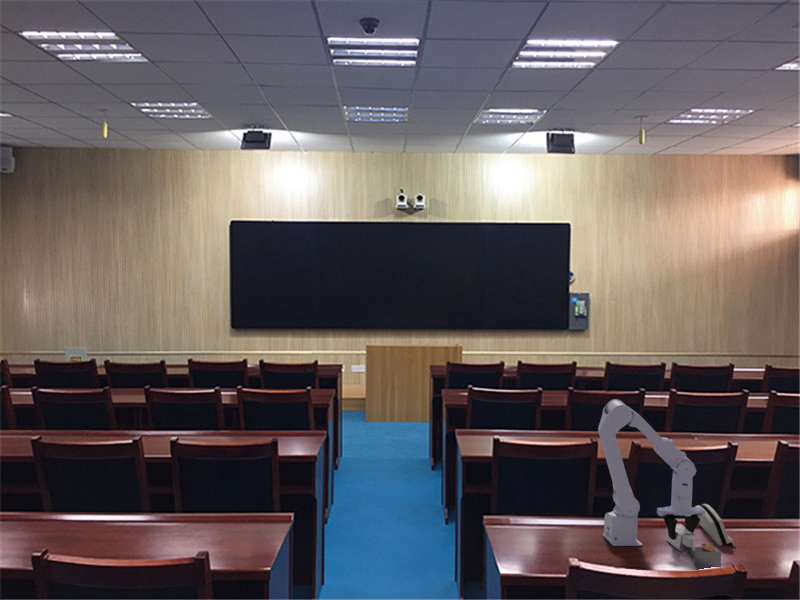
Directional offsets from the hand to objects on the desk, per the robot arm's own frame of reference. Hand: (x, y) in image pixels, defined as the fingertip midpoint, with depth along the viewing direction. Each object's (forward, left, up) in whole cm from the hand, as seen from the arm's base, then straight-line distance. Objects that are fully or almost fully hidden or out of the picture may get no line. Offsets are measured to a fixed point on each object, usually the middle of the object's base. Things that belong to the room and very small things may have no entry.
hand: (679, 538), depth 181 cm
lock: (0, 0, -2) cm, 2 cm away
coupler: (0, -10, -2) cm, 10 cm away
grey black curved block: (+16, +8, -3) cm, 18 cm away
